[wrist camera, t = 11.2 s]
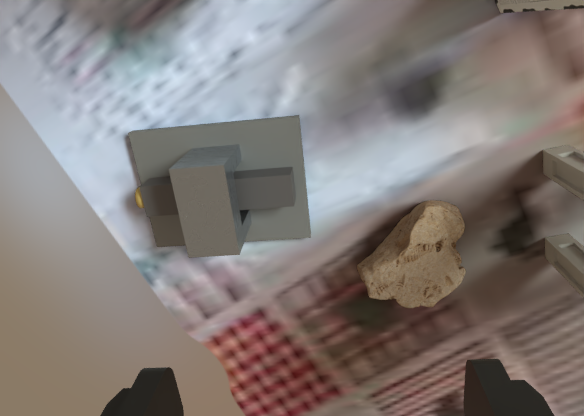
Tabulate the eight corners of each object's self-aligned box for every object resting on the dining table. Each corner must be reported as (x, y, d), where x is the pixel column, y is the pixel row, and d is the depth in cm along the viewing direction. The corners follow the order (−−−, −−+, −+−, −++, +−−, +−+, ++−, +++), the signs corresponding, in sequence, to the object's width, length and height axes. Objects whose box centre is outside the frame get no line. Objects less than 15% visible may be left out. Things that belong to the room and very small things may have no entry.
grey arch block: (192, 148, 40) (168, 169, 34) (239, 144, 39) (223, 164, 33) (207, 225, 43) (188, 257, 37) (251, 222, 42) (239, 254, 36)
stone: (347, 260, 44) (350, 286, 40) (427, 180, 40) (441, 200, 36) (409, 306, 46) (418, 337, 42) (491, 235, 42) (512, 260, 38)
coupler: (132, 130, 40) (115, 139, 37) (299, 115, 39) (296, 123, 36) (160, 242, 45) (147, 258, 42) (310, 233, 43) (309, 249, 40)
